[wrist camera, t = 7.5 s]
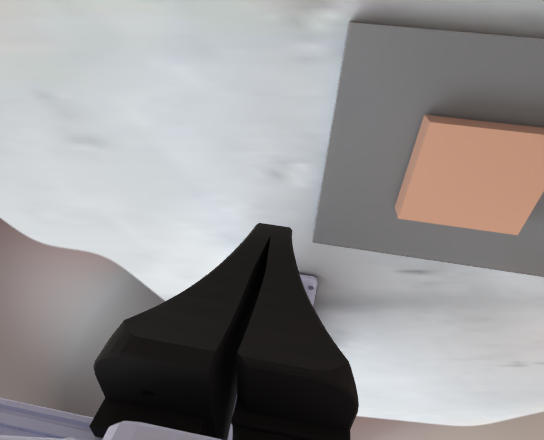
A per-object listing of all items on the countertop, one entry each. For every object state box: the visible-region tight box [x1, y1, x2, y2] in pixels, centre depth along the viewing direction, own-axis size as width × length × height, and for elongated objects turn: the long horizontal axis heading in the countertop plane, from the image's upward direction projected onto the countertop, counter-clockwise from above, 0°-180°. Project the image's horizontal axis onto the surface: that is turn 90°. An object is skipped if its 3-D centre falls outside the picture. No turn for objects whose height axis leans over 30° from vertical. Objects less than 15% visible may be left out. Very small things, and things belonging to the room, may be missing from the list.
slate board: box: [313, 22, 544, 277], centre depth 20 cm, size 14×18×1 cm
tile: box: [395, 115, 544, 235], centre depth 19 cm, size 6×2×7 cm
